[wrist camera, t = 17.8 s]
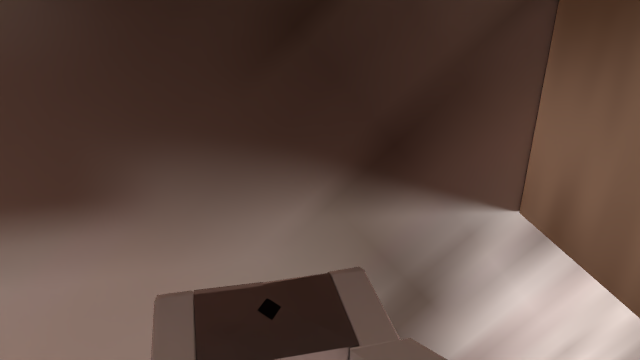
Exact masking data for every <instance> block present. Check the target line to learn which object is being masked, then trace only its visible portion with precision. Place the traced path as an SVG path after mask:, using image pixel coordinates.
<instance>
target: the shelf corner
mask: <svg viewBox="0 0 640 360" xmlns="http://www.w3.org/2000/svg"><path fill="white" fill-rule="evenodd" d="M519 213H520V214H521V215H522V216H524V217H525V218H526V219H527V220H528V221H529V222H530V223H532V224H533V225H534V226H535V227H536V228H537V229H538V230H540V231H541V232H542V233H543V234H544V235H545V236H546V237H548V238H549V239H550V240H551V241H552V242H553V243H554V244H556V245H557V246H558V247H559V248H560V249H561V250H562V251H564V252H565V253H566V254H567V255H568V256H569V257H570V258H572V259H573V260H574V261H575V262H576V263H577V264H578V265H580V266H581V267H582V268H583V269H584V270H585V271H586V272H588V273H589V274H590V275H591V276H592V277H593V278H594V279H596V280H597V281H598V282H599V283H600V284H601V285H602V286H604V287H605V288H606V289H607V290H608V291H609V292H610V293H612V294H613V295H614V296H615V297H616V298H617V299H618V300H620V301H621V302H622V303H623V304H624V305H625V306H626V307H628V308H629V309H630V310H631V311H632V312H633V313H634V314H636V315H637V316H638V317H639V318H640V0H559V4H558V9H557V14H556V20H555V25H554V30H553V36H552V41H551V46H550V52H549V57H548V63H547V68H546V73H545V79H544V84H543V89H542V95H541V100H540V105H539V111H538V116H537V121H536V127H535V132H534V137H533V143H532V148H531V153H530V159H529V164H528V169H527V175H526V180H525V185H524V191H523V196H522V201H521V207H520V212H519Z"/></svg>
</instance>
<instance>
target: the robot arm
mask: <svg viewBox="0 0 640 360" xmlns="http://www.w3.org/2000/svg"><path fill="white" fill-rule="evenodd" d="M151 360H447V359H445V358H444V357H442V356H440V355H438V354H437V353H435V352H433V351H432V350H430V349H428V348H426V347H425V346H423V345H421V344H420V343H418V342H416V341H414V340H413V339H411V338H408V339H401V340H400V338H399V336H398V334H397V332H396V330H395V328H394V327H393V325H392V323H391V321H390V319H389V317H388V315H387V313H386V311H385V309H384V307H383V305H382V303H381V302H380V300H379V298H378V296H377V294H376V292H375V290H374V288H373V286H372V284H371V282H370V280H369V278H368V277H367V275H366V273H365V271H364V269H362V268H361V267H354V268H348V269H342V270H336V271H330V272H328V273H324V274H318V275H311V276H304V277H297V278H290V279H283V280H276V281H269V282H258V283H250V284H241V285H233V286H224V287H216V288H207V289H199V290H194V293H193V291H184V292H177V293H169V294H162V295H157V297H156V299H155V301H154V315H153V332H152V350H151Z"/></svg>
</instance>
